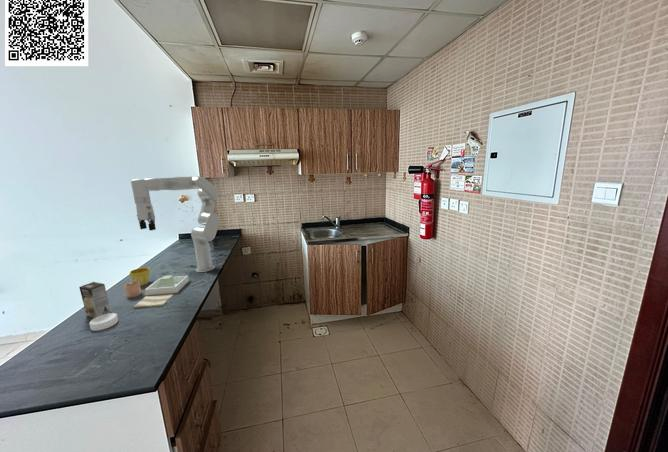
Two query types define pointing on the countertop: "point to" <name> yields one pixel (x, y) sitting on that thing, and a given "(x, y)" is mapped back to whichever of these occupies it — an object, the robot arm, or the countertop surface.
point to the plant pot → (140, 275)
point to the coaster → (103, 321)
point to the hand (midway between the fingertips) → (148, 229)
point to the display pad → (153, 301)
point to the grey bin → (157, 289)
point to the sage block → (167, 281)
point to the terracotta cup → (133, 289)
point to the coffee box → (95, 299)
